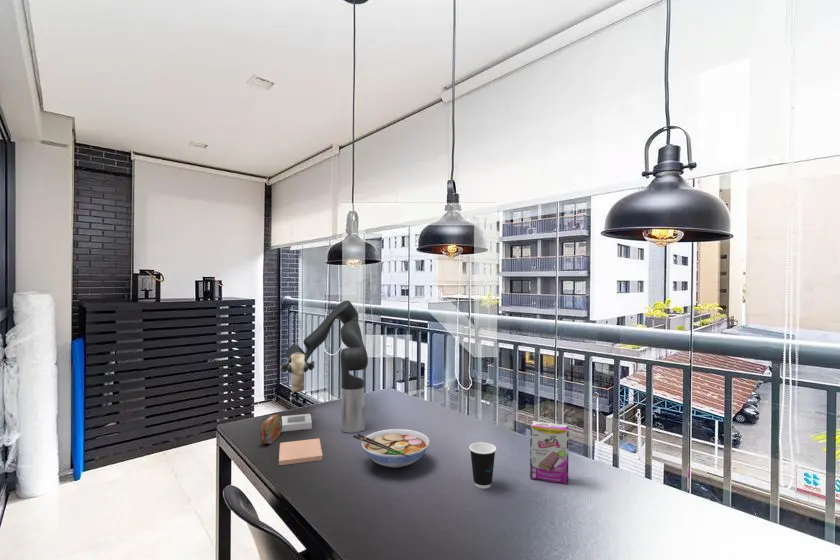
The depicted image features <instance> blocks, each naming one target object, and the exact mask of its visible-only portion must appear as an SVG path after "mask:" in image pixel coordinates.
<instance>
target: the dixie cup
mask: <svg viewBox="0 0 840 560" xmlns="http://www.w3.org/2000/svg"><path fill="white" fill-rule="evenodd" d="M469 450H470V459H471V460H470V461H471V469H472V477H473V482H474V486H475V487H476V488H479V489H482V490H483V489H490V487H491V486H492V483H493V476H494V475H493V474H494V466H495V458H496V457H495V456H496V455H495V454H496V451H497V447H496V446H495V445H494V444H491V443H489V442H481V441H480V442H474V443H472V444H470V445H469Z"/></svg>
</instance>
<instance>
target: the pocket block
mask: <svg viewBox="0 0 840 560" xmlns="http://www.w3.org/2000/svg"><path fill="white" fill-rule="evenodd" d="M281 418H282V430H281V433H282V432H283V433H284V432H294V431H300V430H302V429H303V430H310V429H311V430H312V428H313V425H312V424H313V423H312V422H313V421H312V416H311V413H304V414H302V413H301V414H292V415H282V416H281Z"/></svg>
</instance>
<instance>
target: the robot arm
mask: <svg viewBox="0 0 840 560" xmlns="http://www.w3.org/2000/svg"><path fill="white" fill-rule="evenodd" d="M337 318H338V319H339V320H340V322H341V323H342V327H341V329H340V338H341V341H342V343H343V345H345V346H346V347H347V348H346V347H345V348H342V349H341V351H340V371H341V374H340V375H341V376H340V377H341V381H340V382H341V383H340V384H341V387H340V388H341V390H340V393H341V396H340V397H341V398H340V399H341V401H340V404H341V406H340V407H341V409H340V411H341V412H340V415H341V422H340V424H341V425H340V426H341V431H342V432H344V433H347V434H348V433H349V434H353V433H354V434H355V433H359V432H361V431H366V406H365V381H364V379H363V378H361V377H357V376H354V375H352V374H351V373H350V372H351V371H352V372H355V371H363V370H365V369H367V367H368V364H369V358H368V357H369V356H368V352H367V350H366V347H365V345H364V342H363V336H362V335H363V334H362V330H361V327H360V324H359V313H358V311H357V310H356V308H355V306H354V305H353V304H352V303H351V301H349V300H344V301H341V302H340V303H339V304H337V305H336V306H335V307H334V308H333V310H332V311H331V312H330V313H329V314H328V315H327V316H326V317H325V318H324V320H323V321H322V322H321V323H320V324H319V325H318V326H317V327H316V329H315V330H314V331H312V332H311V333H310V334H309V335H307V336H306V337H305V338H304V340H303V344H304V345H303V346H304V347H305V349H306V350H305V351H304V350H303V349H302V348H301V347H300V345H297V344H292V345H290V346H289V347H288V348H287V349H286V351H285V357H286V358H287V360H288V362H287V364H286V363H284V362H281V363H280V371H282V372H283V373H284V372H285V373H286V372H287V373H289V374H291V373H292V367H291V355H293V354H304V373H307V372H308V371H312V370H314V369H315V368H316V367H315V364H316V362H315V361H314V360H312V361H310V362H308V360H309V358H310V357H311V355H312V354H313V353H314V352H315V350H317V349H318V347H320V346H321V345H322V344H323V343H324V342H325V341H326V340H327V338H328V335H329V334H330V330H331V328H332V326H333V324H334V322H335V320H336V319H337Z"/></svg>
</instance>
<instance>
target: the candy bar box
mask: <svg viewBox="0 0 840 560" xmlns="http://www.w3.org/2000/svg"><path fill="white" fill-rule="evenodd" d="M569 431H570V428H569V425H568V424H562V423H561V424H560V423H554V422H552V423H550V422H544V421H535V420H532V421H531V423H530V440H529V441H530V447H529V448H530V449H529V450H530V451H529V452H530V454H529V455H530V457H529V458H530V459H529V460H530V461H529V462H530V463H529V465H530V466H529V478H530V479H532V480H537V481H543V482H544V481H545V482H551V483H557V484H564V485H569V455H570V454H569V451H570V449H569V445H570V444H569V439H570V438H569V437H570V435H569V434H570V433H569Z"/></svg>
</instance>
